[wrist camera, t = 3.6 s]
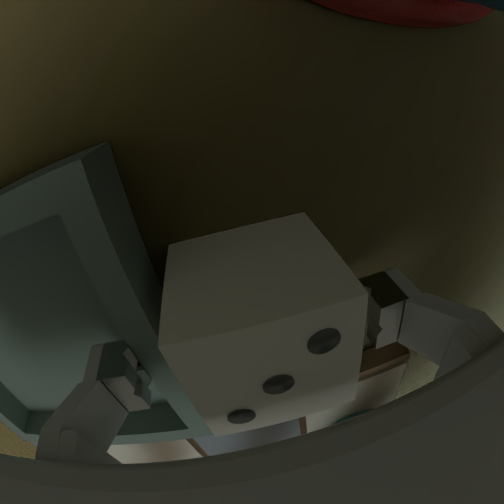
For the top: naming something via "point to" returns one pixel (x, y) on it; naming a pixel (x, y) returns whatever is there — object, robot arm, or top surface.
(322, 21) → the top surface
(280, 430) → the board
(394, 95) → the top surface
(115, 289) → the tray
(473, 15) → the stacking bear
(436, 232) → the top surface
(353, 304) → the die
